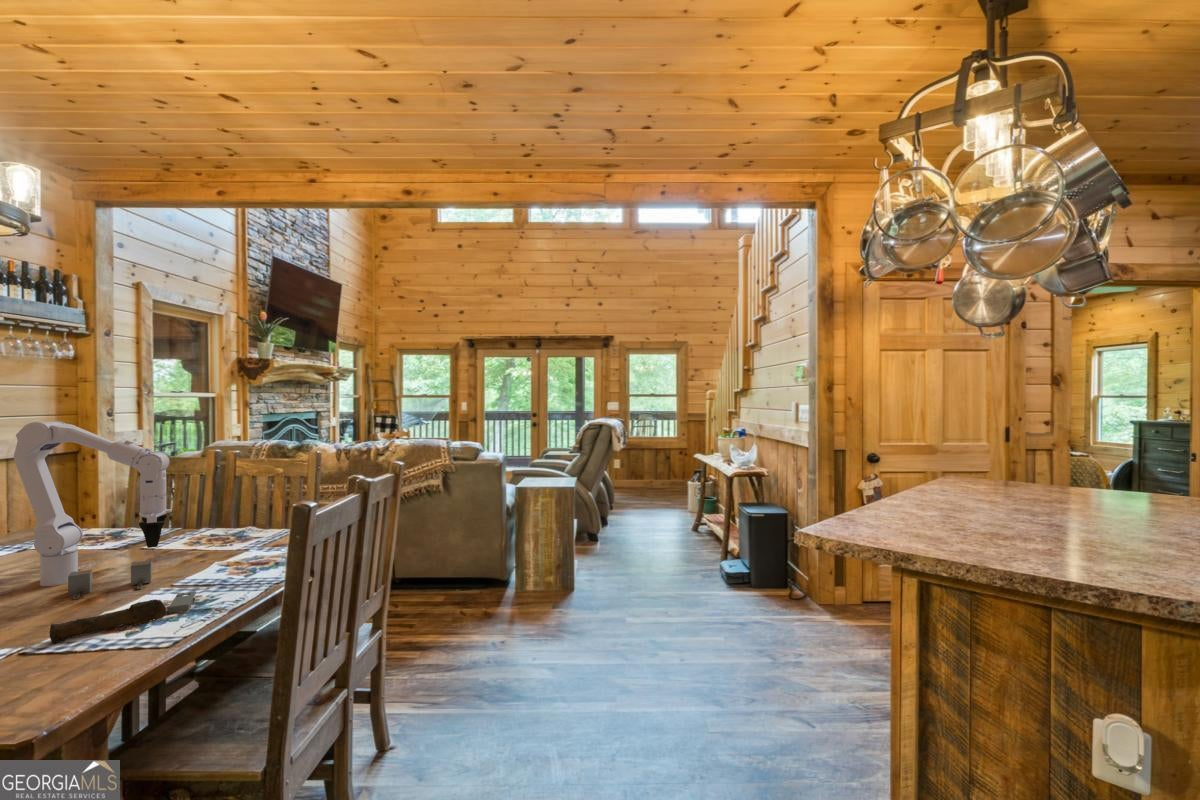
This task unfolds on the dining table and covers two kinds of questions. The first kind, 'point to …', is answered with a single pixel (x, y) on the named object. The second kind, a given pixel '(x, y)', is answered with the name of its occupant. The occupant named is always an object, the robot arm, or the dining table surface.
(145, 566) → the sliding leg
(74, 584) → the fixed leg
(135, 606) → the hand tool
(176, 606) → the bracket
